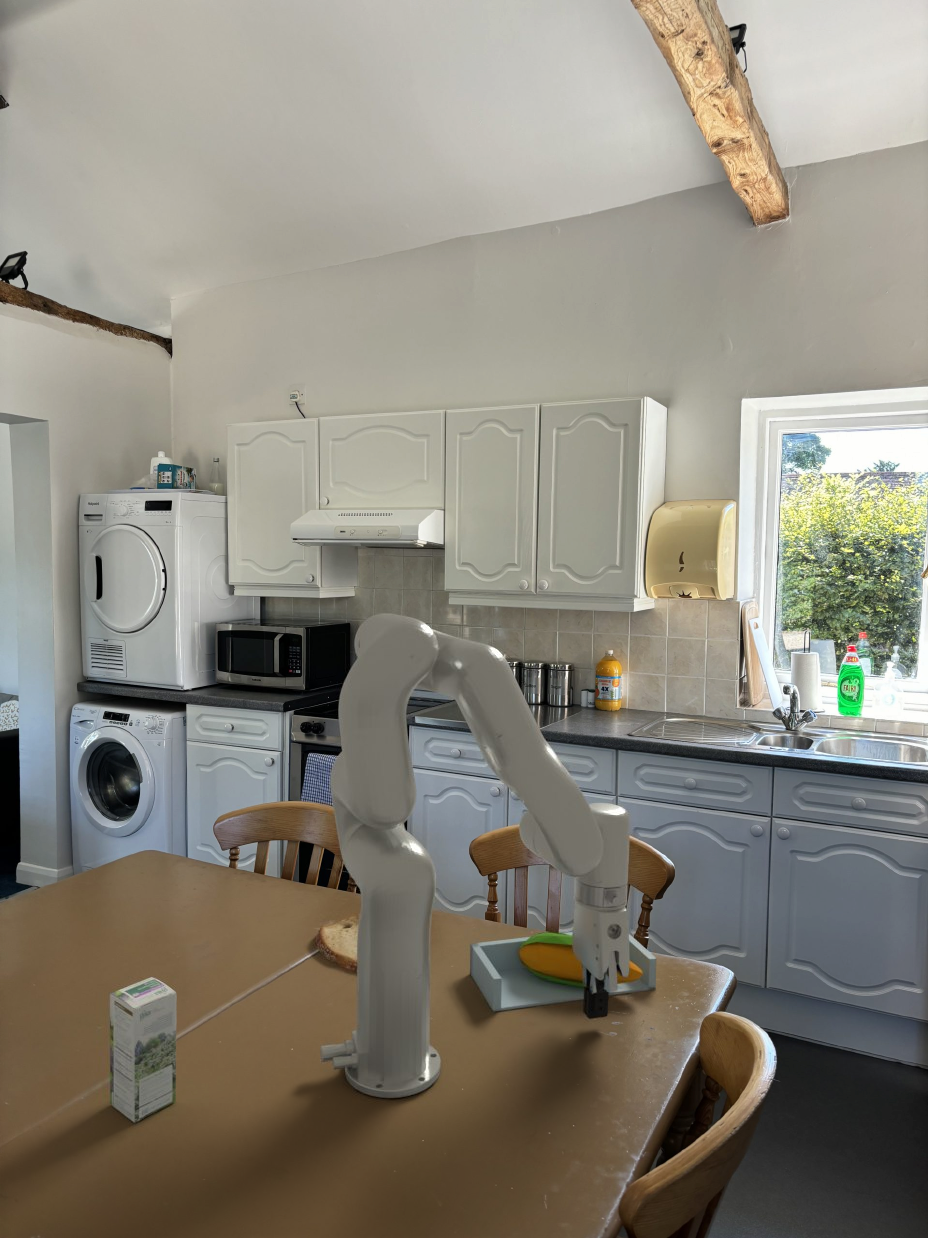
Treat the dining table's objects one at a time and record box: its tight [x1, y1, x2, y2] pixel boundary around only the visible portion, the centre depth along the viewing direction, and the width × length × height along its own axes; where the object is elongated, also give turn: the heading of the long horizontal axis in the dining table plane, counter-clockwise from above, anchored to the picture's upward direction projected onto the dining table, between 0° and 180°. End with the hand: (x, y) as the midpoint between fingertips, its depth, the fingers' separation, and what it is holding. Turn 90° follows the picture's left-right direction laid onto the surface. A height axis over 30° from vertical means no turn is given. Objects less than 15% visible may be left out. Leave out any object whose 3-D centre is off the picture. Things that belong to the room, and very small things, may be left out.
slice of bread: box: [315, 914, 360, 973], centre depth 149 cm, size 18×18×4 cm
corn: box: [519, 931, 643, 987], centre depth 137 cm, size 7×8×20 cm
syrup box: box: [109, 976, 177, 1124], centre depth 106 cm, size 6×6×14 cm
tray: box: [469, 931, 657, 1013], centre depth 139 cm, size 27×12×5 cm, turn 106°
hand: (595, 1015), depth 125 cm, fingers closed
